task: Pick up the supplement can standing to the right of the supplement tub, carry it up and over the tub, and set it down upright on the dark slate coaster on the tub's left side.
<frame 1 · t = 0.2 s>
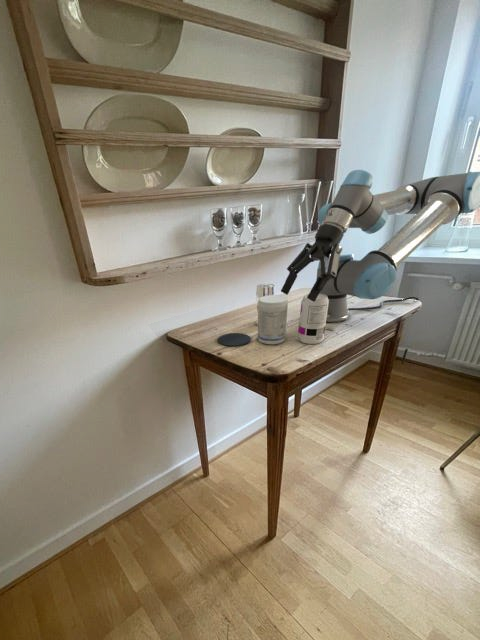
hand: (296, 296, 95), 16 cm above the table, tool tilted 30°, fingers open, 13 cm apart
supplement can: (310, 340, 103), on the table
supplement tub: (271, 340, 106), on the table
beer glass: (264, 324, 121), on the table
coaster: (234, 340, 109), on the table
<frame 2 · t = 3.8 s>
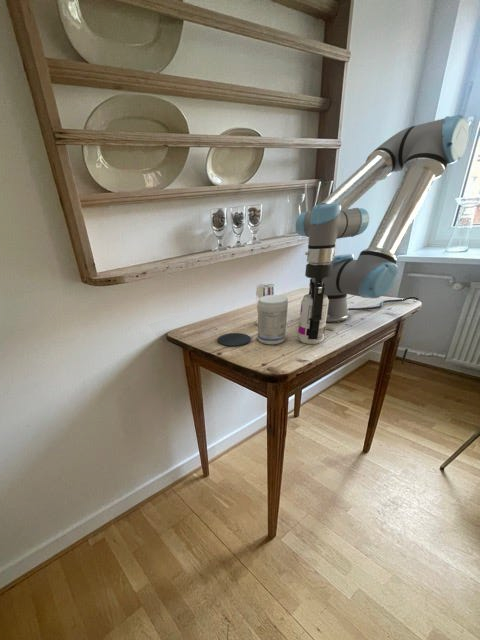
hand: (311, 333, 102), 2 cm above the table, tool pointing down, fingers closed on supplement can, 8 cm apart
supplement can: (310, 340, 103), on the table, touching gripper
everything else where it was.
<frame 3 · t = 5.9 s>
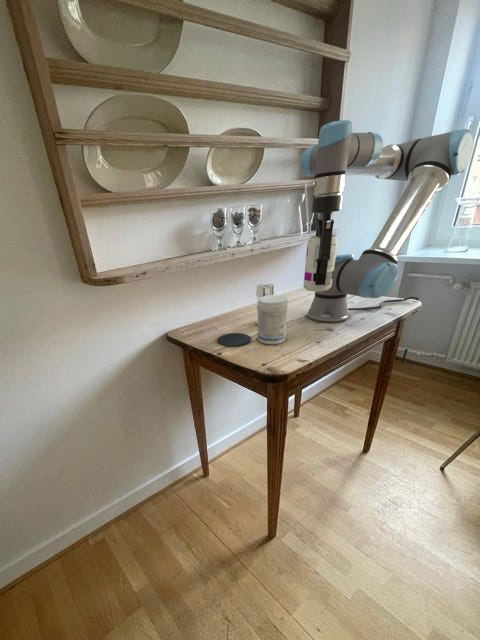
hand: (317, 281, 93), 20 cm above the table, tool pointing down, fingers closed on supplement can, 8 cm apart
supplement can: (316, 289, 94), point 17 cm above the table, touching gripper
everything else where it was.
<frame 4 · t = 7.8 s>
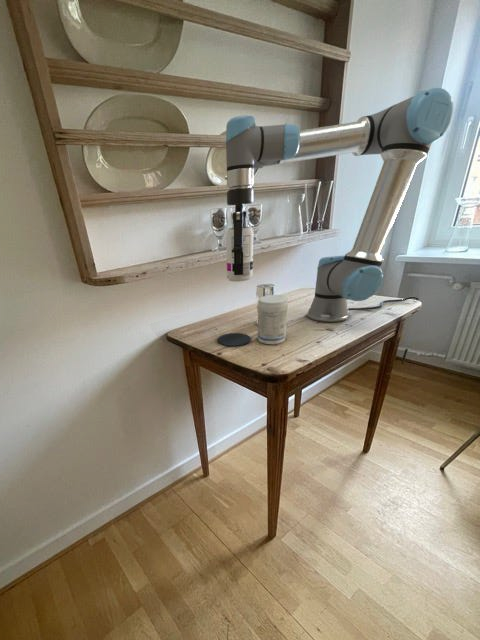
hand: (239, 272, 96), 24 cm above the table, tool pointing down, fingers closed on supplement can, 8 cm apart
supplement can: (239, 279, 98), point 21 cm above the table, touching gripper
everything else where it was.
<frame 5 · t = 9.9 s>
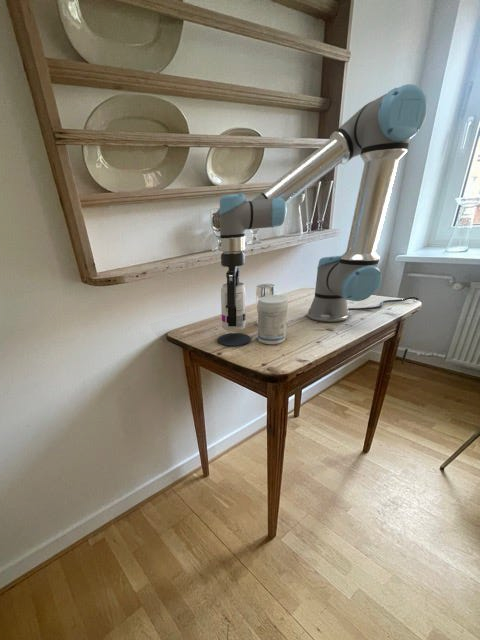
hand: (233, 321, 105), 7 cm above the table, tool pointing down, fingers closed on supplement can, 8 cm apart
supplement can: (233, 328, 107), point 4 cm above the table, touching gripper
everything else where it was.
when the fingers open (3 cm above the table, at t = 11.6 s): supplement can stays where it is, resting on coaster.
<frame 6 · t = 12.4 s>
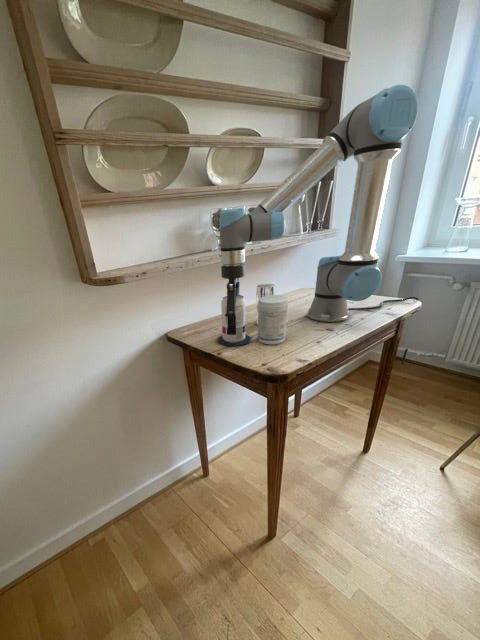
hand: (234, 327, 106), 5 cm above the table, tool pointing down, fingers open, 13 cm apart
supplement can: (233, 339, 109), resting on coaster
everything else where it was.
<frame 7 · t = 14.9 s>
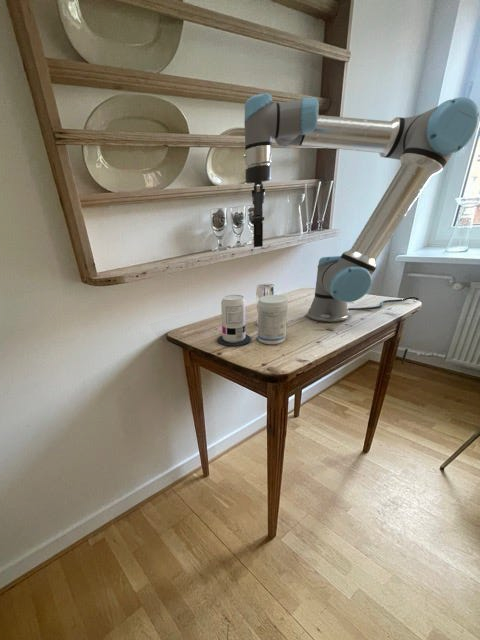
hand: (258, 244, 99), 30 cm above the table, tool pointing down, fingers open, 13 cm apart
nothing on the table moved.
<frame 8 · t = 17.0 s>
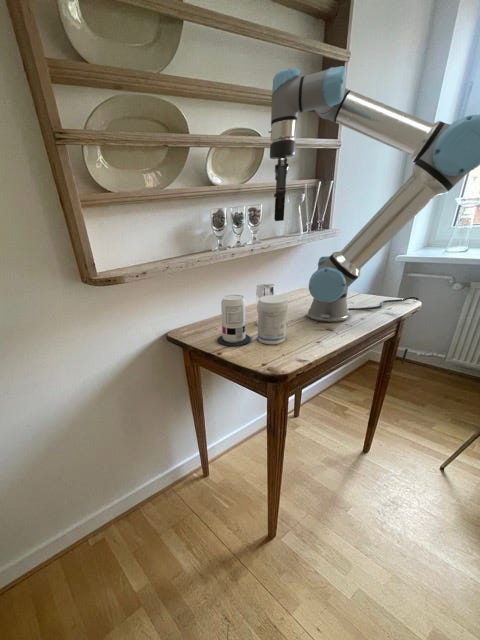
hand: (278, 220, 102), 37 cm above the table, tool pointing down, fingers open, 13 cm apart
nothing on the table moved.
at the end: supplement can 0.1 cm from the coaster (horizontally); supplement can tilted 0°; supplement tub moved 0.2 cm from its start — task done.
